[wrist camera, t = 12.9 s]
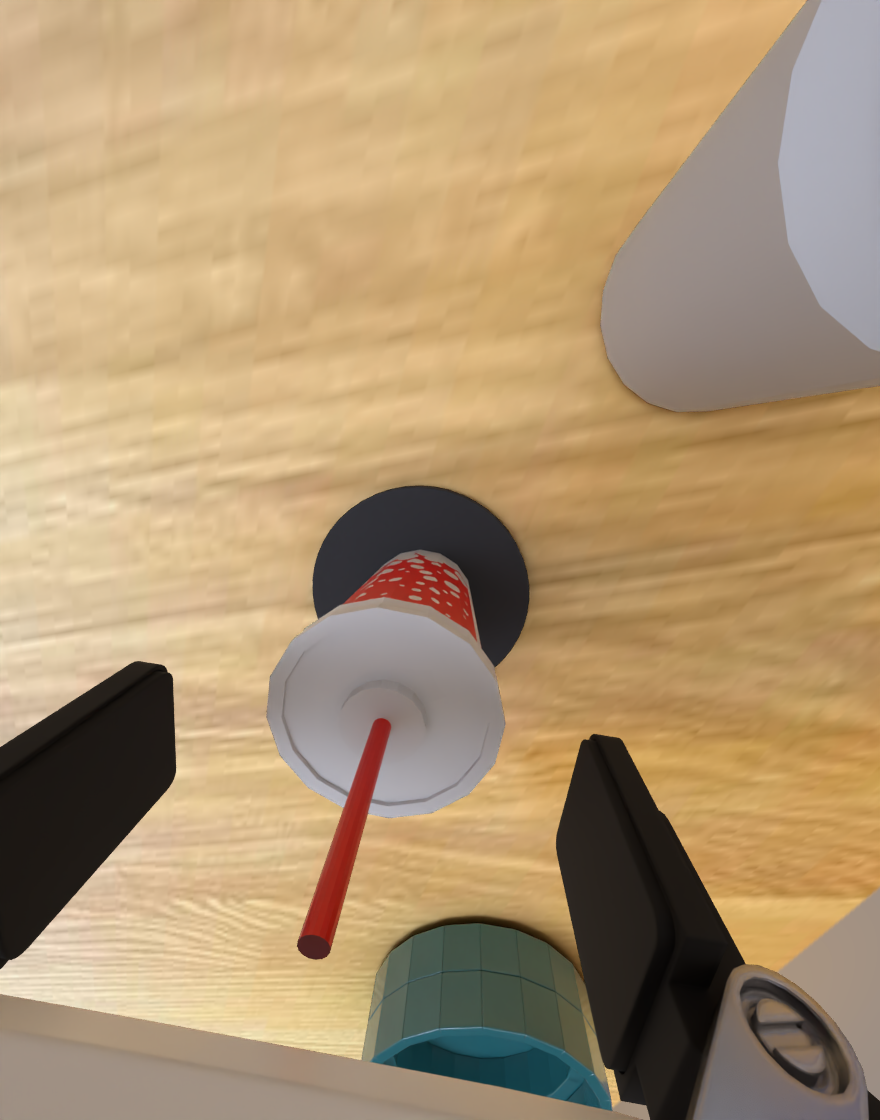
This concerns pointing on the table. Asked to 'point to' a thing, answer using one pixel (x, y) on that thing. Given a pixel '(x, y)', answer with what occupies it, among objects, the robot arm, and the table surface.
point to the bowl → (487, 1014)
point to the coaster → (434, 527)
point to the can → (765, 235)
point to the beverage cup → (385, 711)
